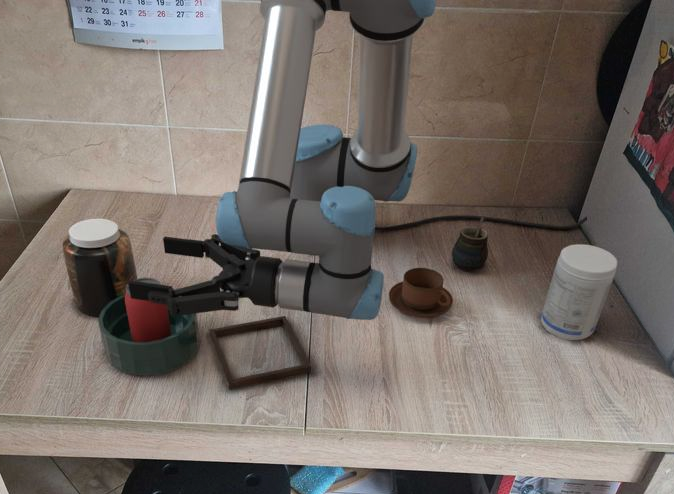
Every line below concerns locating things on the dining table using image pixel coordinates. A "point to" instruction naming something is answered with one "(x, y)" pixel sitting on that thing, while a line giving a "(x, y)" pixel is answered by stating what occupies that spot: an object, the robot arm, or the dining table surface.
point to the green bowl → (146, 354)
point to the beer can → (147, 317)
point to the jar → (98, 263)
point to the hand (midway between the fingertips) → (148, 265)
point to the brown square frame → (266, 376)
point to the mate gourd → (471, 248)
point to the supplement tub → (578, 291)
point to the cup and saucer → (421, 294)
